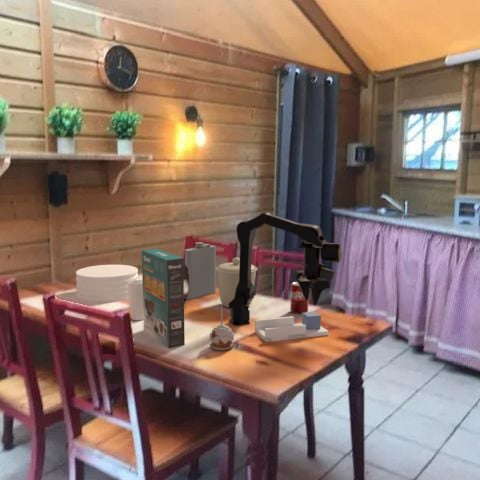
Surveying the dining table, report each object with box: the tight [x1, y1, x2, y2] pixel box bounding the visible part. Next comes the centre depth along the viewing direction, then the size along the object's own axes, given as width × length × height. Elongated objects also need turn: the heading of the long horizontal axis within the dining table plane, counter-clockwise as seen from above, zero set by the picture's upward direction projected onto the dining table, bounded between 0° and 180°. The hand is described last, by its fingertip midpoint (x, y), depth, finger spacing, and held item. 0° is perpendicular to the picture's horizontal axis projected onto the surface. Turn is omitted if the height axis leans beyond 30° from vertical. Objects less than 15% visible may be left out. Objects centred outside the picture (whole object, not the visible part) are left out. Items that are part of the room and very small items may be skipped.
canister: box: [215, 257, 258, 309], centre depth 221 cm, size 18×18×21 cm
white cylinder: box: [128, 279, 144, 322], centre depth 202 cm, size 7×7×15 cm
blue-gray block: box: [301, 311, 322, 330], centre depth 189 cm, size 5×5×5 cm
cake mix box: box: [141, 248, 186, 349], centre depth 180 cm, size 22×6×30 cm, turn 32°
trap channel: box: [254, 316, 329, 343], centre depth 187 cm, size 24×11×4 cm, turn 108°
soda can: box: [290, 281, 309, 315], centre depth 213 cm, size 7×7×12 cm
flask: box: [184, 241, 217, 300], centre depth 237 cm, size 17×5×25 cm, turn 137°
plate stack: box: [75, 264, 139, 303], centre depth 240 cm, size 28×28×12 cm
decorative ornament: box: [209, 303, 235, 351], centre depth 172 cm, size 8×8×15 cm
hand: (310, 302), depth 187 cm, fingers open, 7 cm apart
